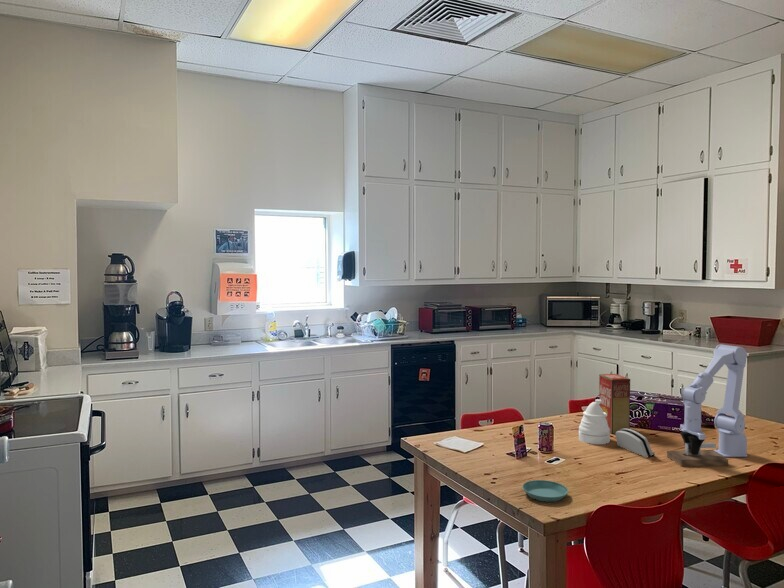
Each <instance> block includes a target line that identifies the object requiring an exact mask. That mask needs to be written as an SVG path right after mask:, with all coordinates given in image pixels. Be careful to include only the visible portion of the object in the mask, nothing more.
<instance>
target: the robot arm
mask: <svg viewBox="0 0 784 588" xmlns="http://www.w3.org/2000/svg"><path fill="white" fill-rule="evenodd" d="M712 353H713V357H712V359H711V361H710V362H709V364H708V365H707V367H706V368H705V370H704V372H703V371H702V372H699V373H698V374H697V376H696V377H695V378H694V379H693V381H692V382H691V383H690V385H688V386H686V387H684V388H683V389H682V392H681V394H680V396H681V399H682V403H683V405H684V415H683V416H684V419H683V420H684V424H683V423H681V424H680V426H679V429H680V430H681V431H680V432H679V433H680V436H681V439H682V441H683V443H684V445H685V443H690V445H691V453H692V454H693V455H698V453H699V449H700V450H701V448H700V447H701V444H702V443H704V441H705V440H706V434H705V433H704V432H703V430H702V429H701V428H702V426H701V425H702V404H703V403H704V402H705V400H706V397H707V396H706V395H707V393H708V392H707V391H708V390H709V388H710V387H711V386H712V384H713V383H714V376H715V375H716V374H717V373H718V372H719V371H720V370H721V368H723V367H724V365H725V366H726V368H727V369H728V371H727V378H726V385H725V393H724V400H723V406H722V407H721V408H719V409H717V411H716V415H715V417H714V420H713V422H714V426H715V428H716V429H717V431H718V449H713V451H714V452H716V453H718V454H720V455H721V456H723V457H725V458H731V457H732V458H734V457H735V458H737V457H738V458H740V457H742V458H743V457H746V458H747V457H748V453H747V452H748V451H747V450H748V439H747V435H746V434H745V433H744V431H745V429H746V422H745V414H743V413H742V411H741V410H739V409H740V401H741V395H742V394H741V392H742V386H743V379H744V370H745V368H746V366H747V365H746V364H747V357H748V356H747V355H748V352H747V351H746V349H745V348H744V347H743V346H737V345H736V346H735V345H728V344H723V343H721V344H719V343H718V344H717V345H716V347H715V348H714V350H713V351H712Z"/></svg>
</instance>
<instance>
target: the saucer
mask: <svg viewBox="0 0 784 588" xmlns="http://www.w3.org/2000/svg"><path fill="white" fill-rule="evenodd" d="M521 487H522V488H523V489H522V490H523V491H524V492H525V493H526V495H527V496H529V498H531V499H533V500H535V499H536V501H540V502H544V501H545V502H547V503H553V502H559V501H561V500H563V498H565V497H566V495H567V494H568V492H569V489H568V488H567V487H566V486H565V485H564V484H561V483H558V482H556V481H552V480H544V479H535V480H534V479H533V480H529V481H526V482H524V483H523V484H522V486H521Z"/></svg>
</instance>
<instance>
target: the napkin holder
mask: <svg viewBox="0 0 784 588" xmlns="http://www.w3.org/2000/svg"><path fill="white" fill-rule="evenodd" d="M614 435H615V439H616V443H617V447H619V446H620V448H622V447H623V448H622V449H624V448H625V450H626V449H628V450H627V451H629V450H630V451H629V452H631V451H632V452H631V453H633V452H635V453H634V454H636V453H637V454H636V455H638V454H639V456H640V455H642V456H641V457H643V456H644V457H643V458H645V457H647V456H648V457H649V456H652V454H653V455H655V456H656V454H655V452H654V451H652V448H651V445H650V444H649V441H648V438H647V437H645V436H644V435H643V434H641V433H639V432H638V431H635V430H634V429H631V428H630V429H625V428H624V429H620V431H617V432H616V433H615V434H614ZM648 457H647V458H648Z"/></svg>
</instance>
